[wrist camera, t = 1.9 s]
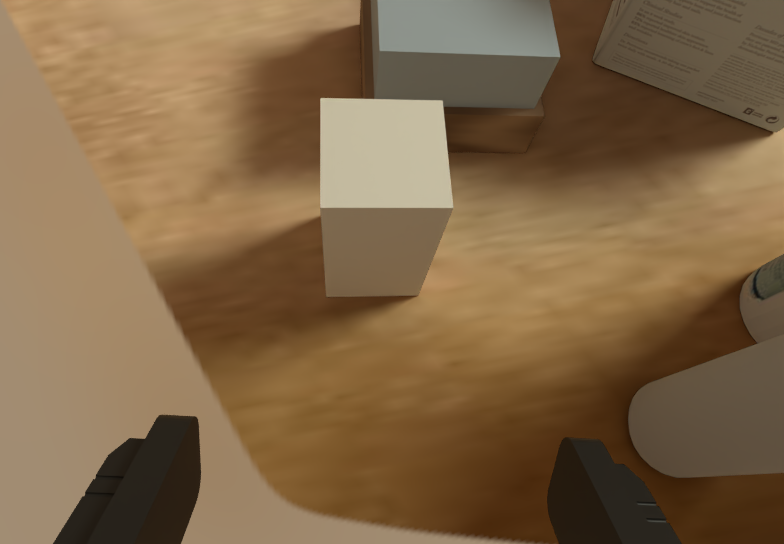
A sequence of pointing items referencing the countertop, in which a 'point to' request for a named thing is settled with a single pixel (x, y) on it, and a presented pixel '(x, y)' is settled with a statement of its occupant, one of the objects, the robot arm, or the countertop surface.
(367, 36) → the walnut base block
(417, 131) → the cream block
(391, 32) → the slate-blue top block
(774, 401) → the beverage can
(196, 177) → the countertop surface
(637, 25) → the supplement box
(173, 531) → the robot arm
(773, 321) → the spray can
